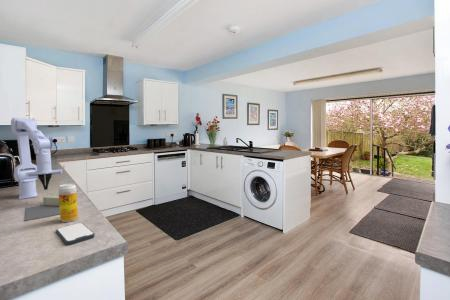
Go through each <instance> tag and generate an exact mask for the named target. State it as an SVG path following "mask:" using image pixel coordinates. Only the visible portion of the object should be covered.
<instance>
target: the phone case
mask: <svg viewBox="0 0 450 300" xmlns="http://www.w3.org/2000/svg"><path fill="white" fill-rule="evenodd" d="M55 231H56V233H57V235H58V236H59V238H60V239H61V240H62V242H64V244H65V245H66V246H71V245H74V244H78V243H81V242H84V241H87V240H91V239H94V238H95V233H94V232H93V230H91V229H90V228H89V227H88V226H86V225H85V224H84V223H82V222H78V223H75V224H71V225H67V226H63V227H59V228H57V229H56V230H55Z"/></svg>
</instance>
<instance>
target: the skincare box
mask: <svg viewBox="0 0 450 300" xmlns="http://www.w3.org/2000/svg"><path fill="white" fill-rule="evenodd" d="M42 205H48V206H60V205H59V193H52V194H48V195H45V196H43V197H42Z"/></svg>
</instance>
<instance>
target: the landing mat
mask: <svg viewBox="0 0 450 300" xmlns="http://www.w3.org/2000/svg"><path fill="white" fill-rule="evenodd" d="M24 216H25V217H24V222H29V221H33V220H38V219H43V218H45V219H46V218H49V217H54V216H60V206H48V205H43V204H41V205H36V206H28V207H25V215H24Z"/></svg>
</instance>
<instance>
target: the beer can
mask: <svg viewBox="0 0 450 300" xmlns="http://www.w3.org/2000/svg"><path fill="white" fill-rule="evenodd" d="M58 194H59V205H60V215H59V217H60V221H61V222H62V223H71V222H74V221H76V220H77V219H78V217H79V214H78V213H79V212H78V198H77V195H78V194H77V186H76V184H75V183H64V184H59V186H58Z"/></svg>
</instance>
